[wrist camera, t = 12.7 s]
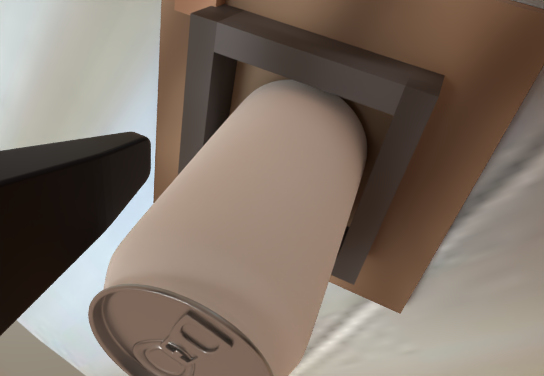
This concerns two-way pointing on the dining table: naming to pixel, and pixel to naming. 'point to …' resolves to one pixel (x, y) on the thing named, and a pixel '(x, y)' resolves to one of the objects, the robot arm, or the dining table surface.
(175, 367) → the can
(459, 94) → the socket block
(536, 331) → the dining table surface
